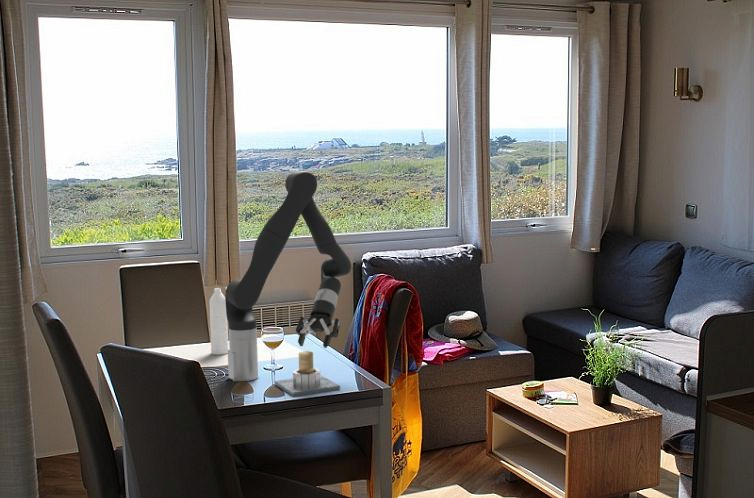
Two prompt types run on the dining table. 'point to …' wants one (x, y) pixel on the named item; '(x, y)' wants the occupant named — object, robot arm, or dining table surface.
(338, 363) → the dining table surface
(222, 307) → the water bottle
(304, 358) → the plug
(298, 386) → the socket board
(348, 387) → the dining table surface
